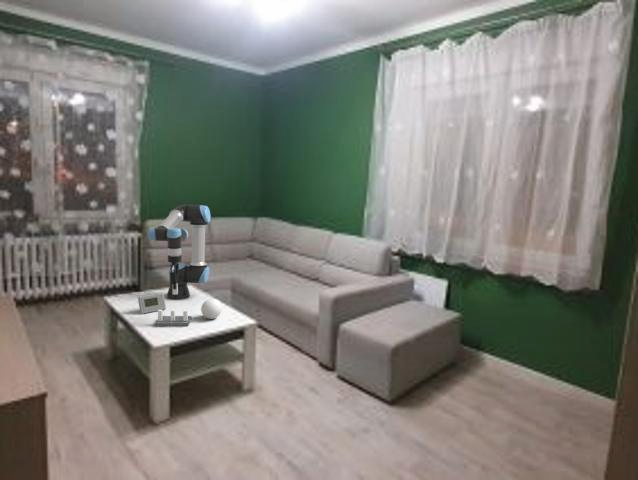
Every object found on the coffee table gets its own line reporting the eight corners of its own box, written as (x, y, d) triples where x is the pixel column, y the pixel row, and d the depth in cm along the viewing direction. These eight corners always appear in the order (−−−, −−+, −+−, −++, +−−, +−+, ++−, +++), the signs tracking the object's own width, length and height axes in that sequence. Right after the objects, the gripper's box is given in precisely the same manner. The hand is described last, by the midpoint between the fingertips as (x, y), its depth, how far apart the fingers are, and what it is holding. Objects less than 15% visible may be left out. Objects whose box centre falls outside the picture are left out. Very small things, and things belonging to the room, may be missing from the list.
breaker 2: (184, 319, 242) (184, 309, 241) (187, 319, 242) (187, 309, 241) (183, 321, 240) (183, 311, 239) (186, 321, 240) (186, 311, 239)
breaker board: (160, 319, 248) (160, 315, 247) (191, 319, 250) (191, 315, 250) (155, 326, 236) (155, 323, 236) (188, 326, 238) (188, 323, 238)
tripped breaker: (171, 319, 241) (171, 309, 240) (175, 319, 242) (175, 309, 241) (170, 321, 239) (170, 311, 238) (174, 321, 239) (174, 311, 238)
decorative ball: (225, 317, 256) (225, 298, 254) (212, 323, 245) (212, 303, 243) (210, 313, 261) (210, 295, 259) (197, 319, 250) (197, 300, 248)
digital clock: (139, 315, 253) (139, 298, 251) (137, 310, 260) (136, 294, 259) (167, 311, 261) (167, 295, 260) (164, 307, 269) (164, 291, 267)
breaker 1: (159, 319, 240) (158, 309, 239) (162, 319, 240) (162, 309, 240) (157, 321, 238) (157, 311, 237) (161, 321, 238) (161, 311, 237)
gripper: (170, 252, 246) (170, 290, 250) (165, 257, 234) (166, 297, 238) (183, 252, 247) (183, 290, 251) (179, 257, 235) (179, 297, 239)
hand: (175, 294), depth 245 cm, fingers closed
